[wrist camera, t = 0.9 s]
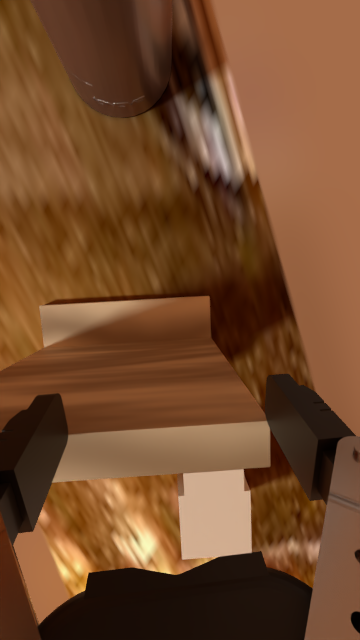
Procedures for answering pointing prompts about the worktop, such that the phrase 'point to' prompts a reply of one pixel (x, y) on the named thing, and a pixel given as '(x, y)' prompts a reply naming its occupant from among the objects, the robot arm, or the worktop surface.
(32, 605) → the robot arm
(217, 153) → the worktop surface
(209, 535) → the wall box
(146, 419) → the cleat board
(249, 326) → the worktop surface
